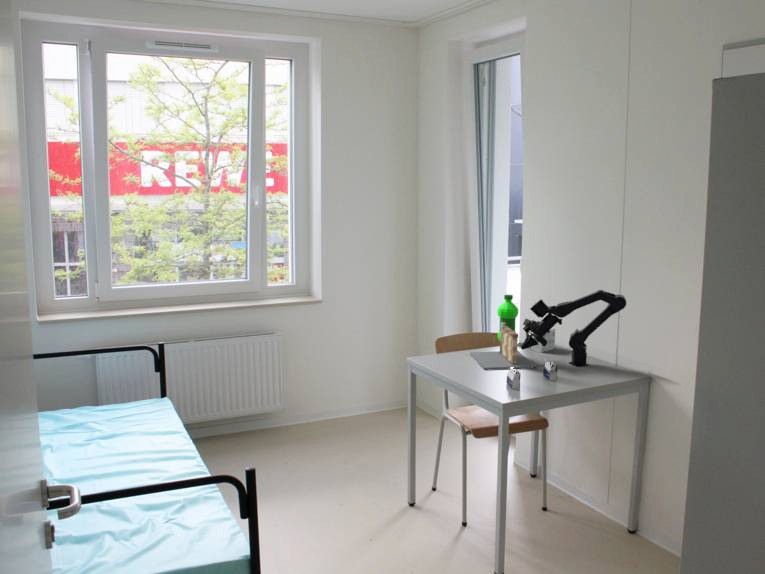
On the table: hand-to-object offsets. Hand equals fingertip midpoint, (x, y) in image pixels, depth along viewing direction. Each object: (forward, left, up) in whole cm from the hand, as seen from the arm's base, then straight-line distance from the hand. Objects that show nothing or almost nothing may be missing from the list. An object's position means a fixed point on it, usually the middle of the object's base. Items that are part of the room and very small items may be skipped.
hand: (521, 348), depth 312 cm
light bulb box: (+16, -23, -7) cm, 29 cm away
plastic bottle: (+33, -13, -7) cm, 36 cm away
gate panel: (+4, +4, -5) cm, 8 cm away
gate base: (+6, +7, -7) cm, 11 cm away
